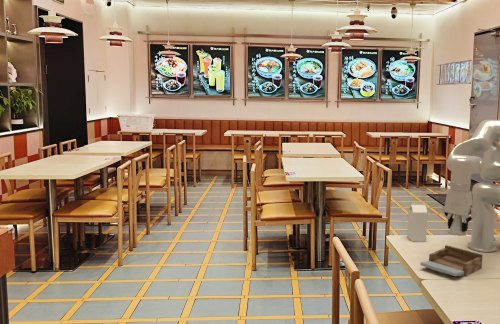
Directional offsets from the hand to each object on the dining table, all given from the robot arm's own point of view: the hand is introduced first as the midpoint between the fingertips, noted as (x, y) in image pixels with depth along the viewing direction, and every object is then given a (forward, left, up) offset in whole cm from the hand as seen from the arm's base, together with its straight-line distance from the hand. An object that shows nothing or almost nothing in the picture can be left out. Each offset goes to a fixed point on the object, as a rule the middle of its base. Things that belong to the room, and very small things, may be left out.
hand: (457, 229), depth 197 cm
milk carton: (-21, -31, -17) cm, 41 cm away
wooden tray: (0, 0, -17) cm, 17 cm away
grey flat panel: (+7, 0, -14) cm, 16 cm away
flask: (0, 0, -2) cm, 2 cm away
